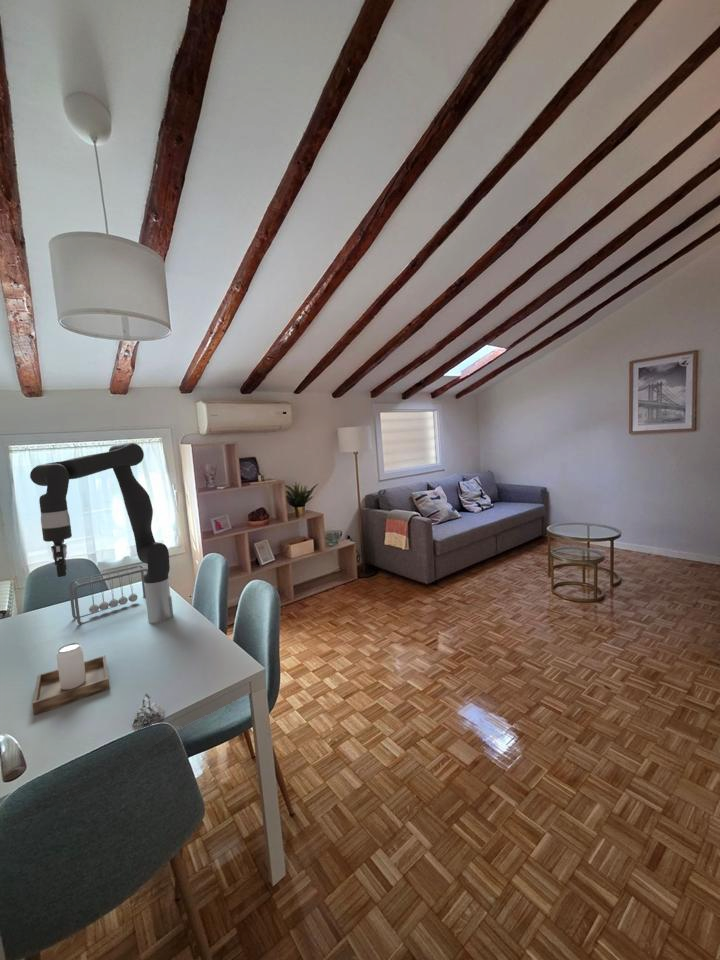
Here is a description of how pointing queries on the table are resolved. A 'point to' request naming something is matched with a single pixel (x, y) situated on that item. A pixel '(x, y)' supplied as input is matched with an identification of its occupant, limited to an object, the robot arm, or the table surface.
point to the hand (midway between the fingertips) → (62, 573)
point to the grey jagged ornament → (147, 713)
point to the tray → (53, 696)
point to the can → (71, 666)
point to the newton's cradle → (103, 605)
